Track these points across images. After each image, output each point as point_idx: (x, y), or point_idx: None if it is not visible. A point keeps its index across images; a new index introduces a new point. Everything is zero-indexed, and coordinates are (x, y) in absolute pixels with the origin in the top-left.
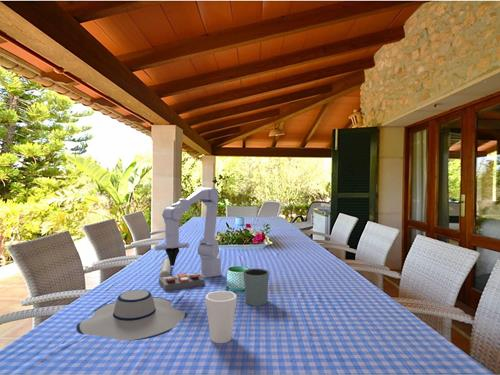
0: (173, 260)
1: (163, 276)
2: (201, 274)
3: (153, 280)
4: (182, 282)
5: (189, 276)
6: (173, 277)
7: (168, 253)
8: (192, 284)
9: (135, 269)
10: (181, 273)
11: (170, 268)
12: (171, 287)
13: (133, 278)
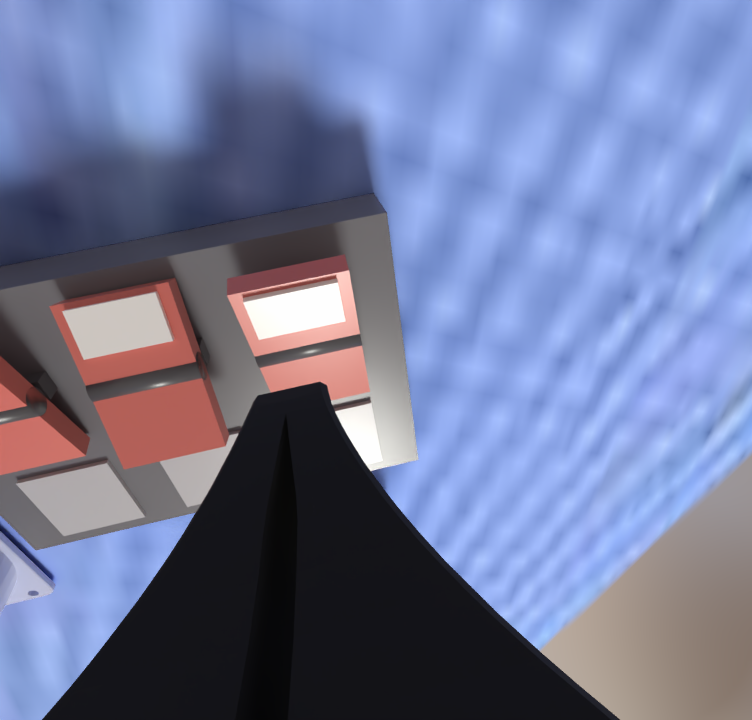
0: (271, 469)
1: None
2: (7, 560)
3: (437, 487)
4: (153, 269)
5: (81, 438)
6: None
7: (578, 690)
8: (26, 271)
9: None
10: (174, 457)
11: None
12: (301, 217)
13: (552, 530)
